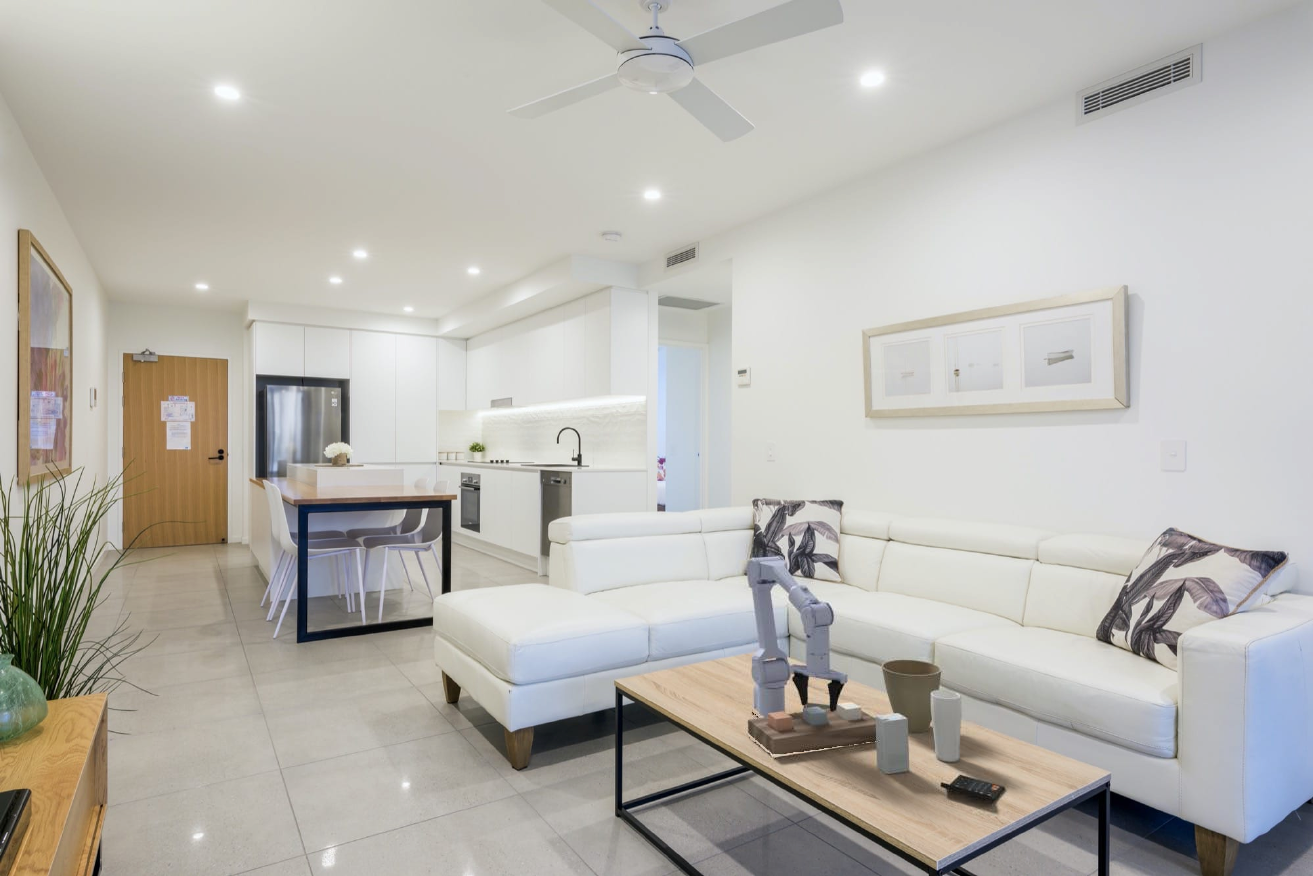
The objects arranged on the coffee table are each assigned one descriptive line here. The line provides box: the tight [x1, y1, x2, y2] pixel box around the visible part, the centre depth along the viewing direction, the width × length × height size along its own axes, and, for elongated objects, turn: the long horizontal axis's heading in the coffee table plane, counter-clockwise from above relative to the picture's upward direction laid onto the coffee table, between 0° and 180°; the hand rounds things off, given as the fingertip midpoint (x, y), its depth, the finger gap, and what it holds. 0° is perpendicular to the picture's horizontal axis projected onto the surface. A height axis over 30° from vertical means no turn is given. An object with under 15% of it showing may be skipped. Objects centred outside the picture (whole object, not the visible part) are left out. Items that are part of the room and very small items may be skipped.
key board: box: [747, 707, 876, 754], centre depth 181 cm, size 14×31×4 cm, turn 108°
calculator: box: [940, 774, 1006, 804], centre depth 151 cm, size 9×12×3 cm
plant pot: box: [881, 659, 942, 733], centre depth 188 cm, size 15×15×16 cm
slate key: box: [802, 706, 827, 726], centre depth 181 cm, size 4×4×4 cm
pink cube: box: [768, 711, 792, 731], centre depth 178 cm, size 4×4×4 cm
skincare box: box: [875, 713, 910, 775], centre depth 163 cm, size 6×4×12 cm
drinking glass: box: [931, 689, 963, 763], centre depth 168 cm, size 7×7×15 cm
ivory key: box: [837, 701, 862, 721], centre depth 184 cm, size 4×4×4 cm
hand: (818, 707), depth 177 cm, fingers open, 7 cm apart
